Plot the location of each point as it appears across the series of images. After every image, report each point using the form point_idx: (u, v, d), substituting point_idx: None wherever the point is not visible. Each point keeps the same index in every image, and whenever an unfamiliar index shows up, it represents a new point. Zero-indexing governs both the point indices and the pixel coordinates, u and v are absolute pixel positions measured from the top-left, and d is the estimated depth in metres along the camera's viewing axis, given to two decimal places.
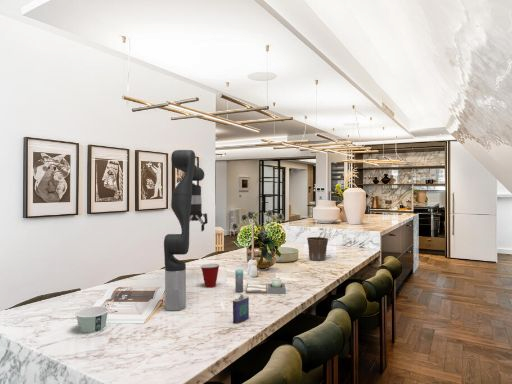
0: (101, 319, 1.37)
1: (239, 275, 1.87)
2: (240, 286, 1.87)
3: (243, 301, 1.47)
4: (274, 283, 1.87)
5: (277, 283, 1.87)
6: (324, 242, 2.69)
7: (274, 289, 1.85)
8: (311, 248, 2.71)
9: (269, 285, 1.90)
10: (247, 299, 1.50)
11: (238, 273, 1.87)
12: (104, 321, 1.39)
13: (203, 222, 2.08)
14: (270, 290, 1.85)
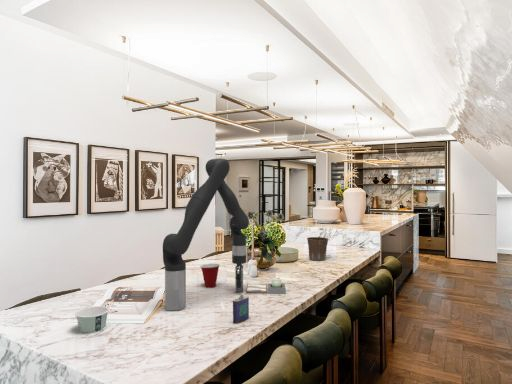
0: (101, 319, 1.37)
1: None
2: None
3: (243, 301, 1.47)
4: (274, 283, 1.87)
5: (277, 283, 1.87)
6: (324, 242, 2.69)
7: (274, 289, 1.85)
8: (311, 248, 2.71)
9: (269, 285, 1.90)
10: (247, 299, 1.50)
11: None
12: (104, 321, 1.39)
13: None
14: (270, 290, 1.85)
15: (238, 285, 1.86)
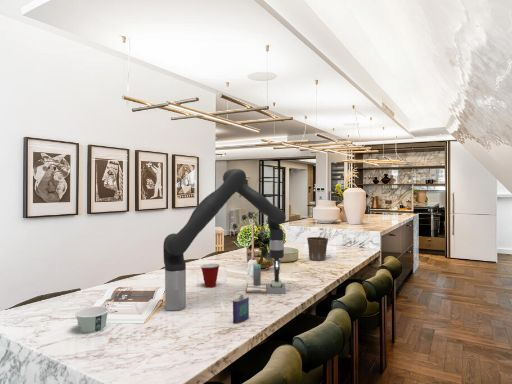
0: (101, 319, 1.37)
1: (257, 269, 1.97)
2: (258, 280, 1.97)
3: (243, 301, 1.47)
4: (274, 283, 1.87)
5: (277, 283, 1.87)
6: (324, 242, 2.69)
7: (274, 289, 1.85)
8: (311, 248, 2.71)
9: (269, 285, 1.90)
10: (247, 299, 1.50)
11: (256, 267, 1.97)
12: (104, 321, 1.39)
13: None
14: (270, 290, 1.85)
15: (276, 279, 1.88)
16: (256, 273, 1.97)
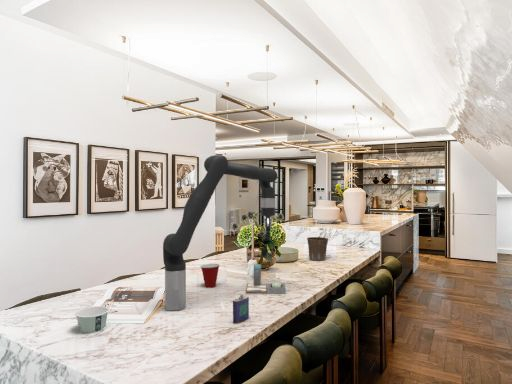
0: (101, 319, 1.37)
1: (257, 269, 1.97)
2: (258, 280, 1.97)
3: (243, 301, 1.47)
4: (274, 285, 1.87)
5: (277, 285, 1.87)
6: (324, 242, 2.69)
7: (274, 289, 1.85)
8: (311, 248, 2.71)
9: (269, 285, 1.90)
10: (247, 299, 1.50)
11: (256, 267, 1.97)
12: (104, 321, 1.39)
13: None
14: (270, 290, 1.85)
15: None
16: (256, 273, 1.97)
